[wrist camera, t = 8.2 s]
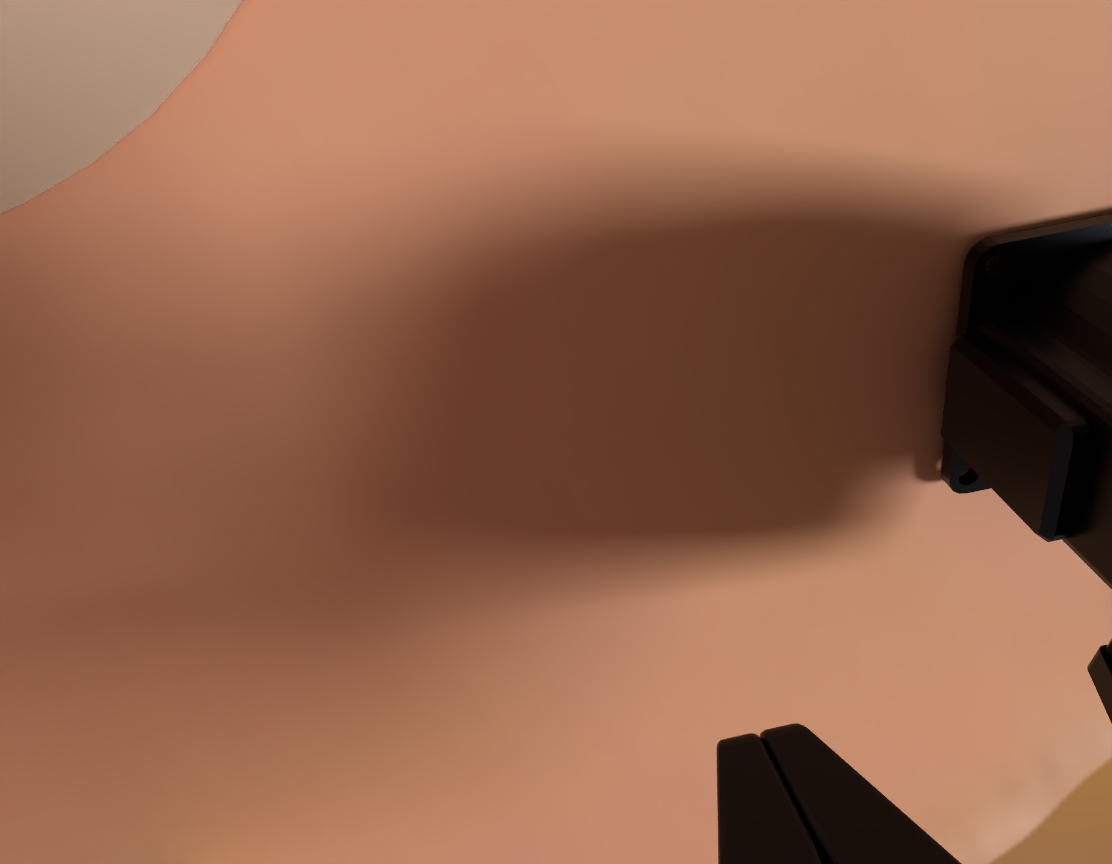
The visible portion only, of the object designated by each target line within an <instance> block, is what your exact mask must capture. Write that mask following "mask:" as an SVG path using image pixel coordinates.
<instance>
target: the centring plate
mask: <svg viewBox="0 0 1112 864" xmlns="http://www.w3.org/2000/svg"><path fill="white" fill-rule="evenodd" d="M241 2H242V0H0V213H2V212H5V211H7V210H10V209H12V208H15V207H17V206H20V205H22V204H24V203H25V202H27V201H29V200H30V199H32V198H34V197H36V196H37V195H39V194H41V193H43V192H44V191H46V190H48V189H49V188H51V187H53V186H55V185H56V184H58V183H60V182H61V181H63V180H65V179H67V178H68V177H70V176H72V175H74V174H75V173H77V172H79V171H80V170H82V169H84V168H86V167H87V166H89V165H90V164H92V163H93V162H94V161H95V160H97V159H98V158H99V157H100V156H102V155H103V154H104V153H105V152H106V151H108V150H109V149H110V148H111V147H113V146H114V145H115V144H116V143H118V142H119V141H120V140H121V139H123V138H124V137H125V136H126V135H127V134H129V133H130V132H131V131H132V130H134V129H135V128H136V127H137V126H139V125H140V124H141V123H142V122H144V121H145V120H146V119H147V118H149V117H150V116H151V115H152V114H153V113H154V112H155V111H156V109H157V108H158V107H159V106H160V105H161V104H162V103H163V102H164V101H165V100H166V98H167V97H168V96H169V95H170V94H171V93H172V92H173V91H174V90H175V88H176V87H177V86H178V85H179V84H180V83H181V82H182V81H183V80H184V79H185V77H186V76H187V75H188V74H189V73H190V72H191V71H192V70H193V69H194V67H195V66H196V65H197V64H198V63H199V62H200V61H201V60H202V59H203V58H204V56H205V55H206V54H207V53H208V52H209V50H210V49H211V47H212V46H213V44H214V42H215V41H216V39H217V38H218V36H219V35H220V33H221V32H222V30H223V29H224V27H225V26H226V24H227V23H228V21H229V20H230V18H231V17H232V15H233V14H234V12H235V11H236V9H237V8H238V6H239V5H240V3H241Z"/></svg>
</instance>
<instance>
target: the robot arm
mask: <svg viewBox="0 0 1112 864" xmlns="http://www.w3.org/2000/svg"><path fill="white" fill-rule="evenodd" d="M996 255H998V258H997V260H996V263H995V264H994V265H993V266H992V267H991V268H989V269H987V270H985V267H986V264H987V262H988V261H989V260H990V259H991V258H992V257H994V256H996ZM941 435H942V437H943V439H944V440H945V441H944V449H943V458H942V467H941V475H942V479H943V480H944V481H945V482H946V483H947V485H948V486H949V487H950V488H951V489H952V490H953V491H954V492H957V493H959V494H961V493H970V492H975V491H980V490H985V489H989V488H992V489H993V490H994V491H995V492H996V493H997V494H998V495H999V496H1000V497H1001V498H1002V499H1003V501H1004V502H1005V503H1006V504H1007V505H1008V506H1009V507H1010V508H1011V509H1012V510H1013V511H1014V512H1015V513H1016V514H1017V515H1018V516H1019V517H1020V518H1021V519H1022V520H1023V521H1024V522H1025V523H1026V524H1027V525H1028V526H1029V527H1030V528H1031V529H1032V530H1033V531H1034V533H1036V534H1037V535H1038V536H1040V537H1041V538H1043V539H1044V540H1046V541H1047V542H1051V541H1055V540H1060V539H1062V540H1063V541H1064V542H1065V543H1066V544H1067V545H1068V546H1069V547H1070V548H1071V549H1072V550H1073V551H1074V552H1075V553H1076V554H1077V555H1078V556H1079V557H1080V558H1081V559H1082V560H1083V561H1084V562H1085V563H1086V564H1087V565H1088V566H1089V567H1090V568H1091V569H1092V570H1093V571H1094V572H1095V573H1096V574H1097V575H1098V576H1099V577H1100V578H1101V579H1102V580H1103V581H1104V582H1105V583H1106V584H1107V585H1108V586H1109V587H1110V588H1111V589H1112V214H1109V215H1103V216H1098V217H1093V218H1088V219H1082V220H1077V221H1072V222H1067V223H1061V224H1056V225H1051V226H1046V227H1040V228H1035V229H1030V230H1025V231H1020V232H1014V233H1009V234H1004V235H999V236H993V237H989V238H986V239H983V240H981V241H979V242H978V243H977V244H975V245H974V246H973V247H972V248H971V250H970V251H969V253H968V254H967V256H966V259H965V263H964V270H963V279H962V288H961V297H960V306H959V315H958V324H957V333H956V338H955V339H954V341H953V343H952V345H951V347H950V355H949V364H948V374H947V383H946V392H945V401H944V410H943V420H942V429H941ZM967 469H969V470H968V471H967V472H966V473H965V474H963V475H961V473H963V472H964V471H965V470H967ZM960 475H961V476H960ZM1087 668H1088V672H1089V674H1090V676H1091V678H1092V681H1093V683H1094V685H1095V687H1096V690H1097V692H1098V694H1099V696H1100V698H1101V701H1102V703H1103V705H1104V707H1105V710H1106V712H1107V714H1108V716H1109V718H1110V721H1111V723H1112V639H1111V641H1110V642H1109V644H1108V645H1103V646H1101V647H1100V648H1099V649H1098V651H1097V653H1096V654H1095V656H1094V657H1093V659H1092V661H1091V662H1090V664H1089V665H1088V667H1087ZM717 803H718V863H719V864H961V863H960V862H959V861H958V860H957V859H955V858H954V857H953V856H952V855H951V854H950V853H949V852H948V851H946V850H945V849H944V848H943V847H942V846H941V845H940V844H938V843H937V842H936V841H935V840H934V839H933V838H932V837H930V836H929V835H928V834H927V833H926V832H925V831H924V830H923V829H921V828H920V827H919V826H918V825H917V824H916V823H915V822H913V821H912V820H911V819H910V818H909V817H908V816H907V815H906V814H904V813H903V812H902V811H901V810H900V809H899V808H898V807H896V806H895V805H894V804H893V803H892V802H891V801H890V800H888V799H887V798H886V797H885V796H884V795H883V794H882V793H881V792H879V791H878V790H877V789H876V788H875V787H874V786H873V785H871V784H870V783H869V782H868V781H867V780H866V779H865V778H863V777H862V776H861V775H860V774H859V773H858V772H857V771H856V770H854V769H853V768H852V767H851V766H850V765H849V764H848V763H846V762H845V761H844V760H843V759H842V758H841V757H840V756H839V755H837V754H836V753H835V752H834V751H833V750H832V749H831V748H829V747H828V746H827V745H826V744H825V743H824V742H823V741H821V740H820V739H819V738H818V737H817V736H816V735H815V734H814V733H812V732H811V731H810V730H809V729H808V728H806V727H805V726H803V725H800V724H789V725H785V726H780V727H776V728H771V729H767V730H764V731H762V732H761V734H760V736H758V735H756V734H752V733H749V734H745V735H740V736H736V737H732V738H727V739H723V740H720V741H719V742H718V744H717Z"/></svg>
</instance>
